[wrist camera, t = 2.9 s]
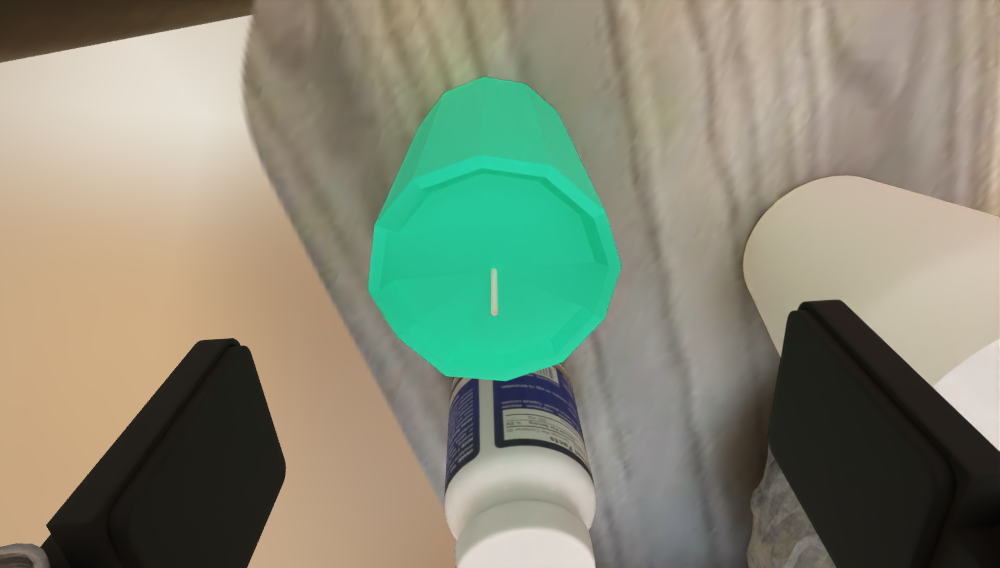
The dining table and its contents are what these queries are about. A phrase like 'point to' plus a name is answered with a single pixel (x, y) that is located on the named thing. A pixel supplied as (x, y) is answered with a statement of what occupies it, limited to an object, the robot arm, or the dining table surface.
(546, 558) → the pill bottle
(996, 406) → the cup
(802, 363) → the robot arm
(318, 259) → the dining table surface
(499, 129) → the candle
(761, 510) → the stone
